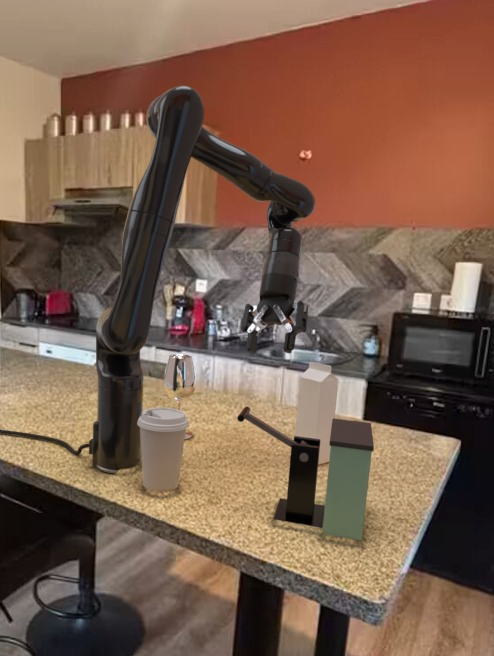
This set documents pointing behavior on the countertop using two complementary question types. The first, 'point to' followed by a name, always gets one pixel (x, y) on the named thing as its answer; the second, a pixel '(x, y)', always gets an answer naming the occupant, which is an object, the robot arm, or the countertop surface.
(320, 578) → the countertop surface
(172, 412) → the coffee cup
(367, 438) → the green lidded box
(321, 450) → the milk
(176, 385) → the wineglass
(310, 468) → the black lever stand
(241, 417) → the lever
